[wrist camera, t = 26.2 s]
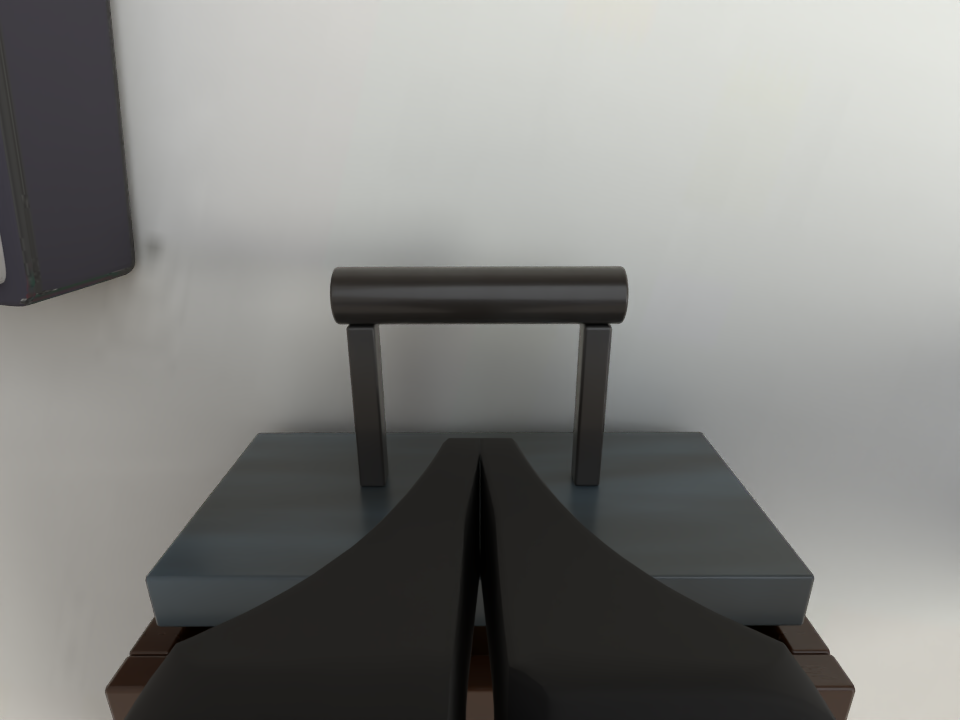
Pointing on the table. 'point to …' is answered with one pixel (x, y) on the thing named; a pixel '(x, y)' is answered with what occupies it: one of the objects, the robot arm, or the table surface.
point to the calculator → (60, 151)
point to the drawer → (553, 455)
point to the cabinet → (483, 669)
